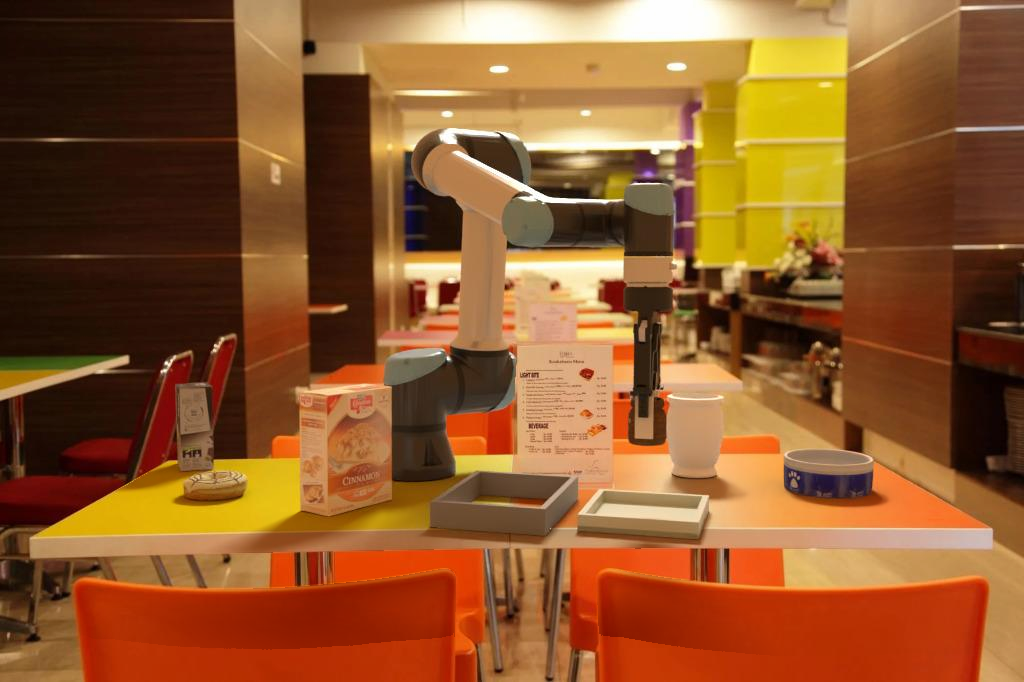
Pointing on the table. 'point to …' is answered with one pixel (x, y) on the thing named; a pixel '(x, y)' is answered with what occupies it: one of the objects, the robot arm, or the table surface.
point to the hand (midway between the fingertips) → (646, 434)
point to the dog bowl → (828, 473)
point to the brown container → (658, 423)
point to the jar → (694, 433)
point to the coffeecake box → (345, 448)
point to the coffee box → (194, 426)
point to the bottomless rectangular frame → (463, 515)
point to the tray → (644, 513)
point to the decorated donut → (215, 485)
